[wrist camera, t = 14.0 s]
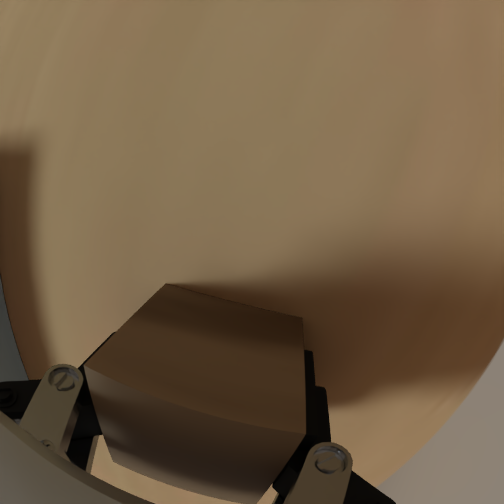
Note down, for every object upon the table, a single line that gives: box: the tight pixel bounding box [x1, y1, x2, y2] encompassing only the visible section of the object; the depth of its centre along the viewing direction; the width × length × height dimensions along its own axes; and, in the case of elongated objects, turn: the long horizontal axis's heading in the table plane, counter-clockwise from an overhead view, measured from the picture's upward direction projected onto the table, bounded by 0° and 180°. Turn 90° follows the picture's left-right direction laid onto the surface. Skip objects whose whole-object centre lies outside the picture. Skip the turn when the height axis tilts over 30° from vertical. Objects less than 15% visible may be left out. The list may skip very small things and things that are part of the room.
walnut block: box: [84, 284, 306, 504], centre depth 8 cm, size 5×5×5 cm
